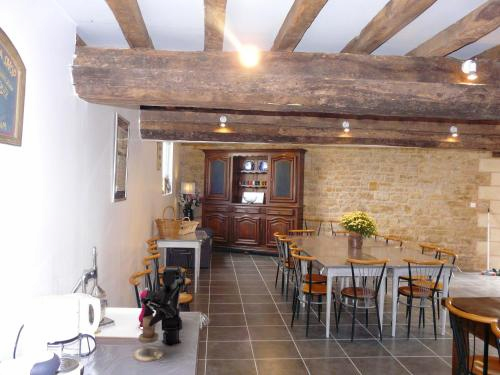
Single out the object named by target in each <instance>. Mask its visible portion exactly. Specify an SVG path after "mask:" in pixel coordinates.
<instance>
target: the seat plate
mask: <svg viewBox="0 0 500 375" xmlns="http://www.w3.org/2000/svg"><path fill="white" fill-rule="evenodd" d="M162 355H163V356H164V350H163V349H162V348H160V347H157V346H146V347H141V348H138V349H137V350H135V351H134V353H133V357H134V359H135V360H136V361H138V362H139V361H140V362H153V361H157V360H160V359H161V358H163V356H162ZM160 357H161V358H160Z"/></svg>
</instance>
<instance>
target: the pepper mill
mask: <svg viewBox="0 0 500 375" xmlns="http://www.w3.org/2000/svg"><path fill="white" fill-rule="evenodd" d="M147 290H149V287H145V288H144V290H143V291H142V292H141V293H140V296H139V297H140V300H141V299H142V298H143V297H145V295H146V293H147ZM147 298H148V297H147ZM140 304H141V307H142V308H141V311H140V313H139V316H138V322H139V328H140V327H143V323H142V322H141V321H142V318H143V315H144V311H145V306H144V305H143V304H142V303H141V302H140ZM152 316H153V317H154V314H153V315H152Z"/></svg>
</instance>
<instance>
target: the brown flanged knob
mask: <svg viewBox="0 0 500 375" xmlns="http://www.w3.org/2000/svg"><path fill="white" fill-rule="evenodd" d="M153 317H154V315H153V316H146V317H144V318H143V329H142V333H141V334H139V335H138V341H139V342H140V343H143V344H150V343H154V342H157V341H158V340H159V333H157V332H156V331H155V330H156V324H154V325H153V326H151V327H150V326H149V324H150V322H151V320H152V319H153Z"/></svg>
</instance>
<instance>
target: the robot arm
mask: <svg viewBox="0 0 500 375" xmlns="http://www.w3.org/2000/svg"><path fill="white" fill-rule="evenodd" d="M186 276H187V275H186V274H185V273H184V272H183V270H182V267H180V266H165V268H164V269H163V271H162V274H161V281H162V285H163V287H162V289H161V290H156V291H154V290H150V289H148V290H147V293H146V295H145V297H143V298H142V299H141V298H140V301H139V302H140V304H141V303H142V304H143V305H144V306H145V311H144V315H143V318H144V317H146V316H152V315H153V319H152V320H151V322H150V324H149V326H150V327H151V326H153V325H154V324H155V325H156V324H158V323H159V322H161V331H163V333H162V340H161V342H162V343H164V344H165V345H166V346H169V347H170V346H173V345H177V344H180V343H182V340H180V331H181V330H183V319H182V316H180V314H181V313H180V310H179V303H180V296H181V293H182V292H184V291H185V287H186V286H187V285H186V284H187V277H186ZM147 297H148V298H147ZM142 304H141V305H142ZM154 309H155V310H154ZM143 318H142V321H141V322H142V323H143Z"/></svg>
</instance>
